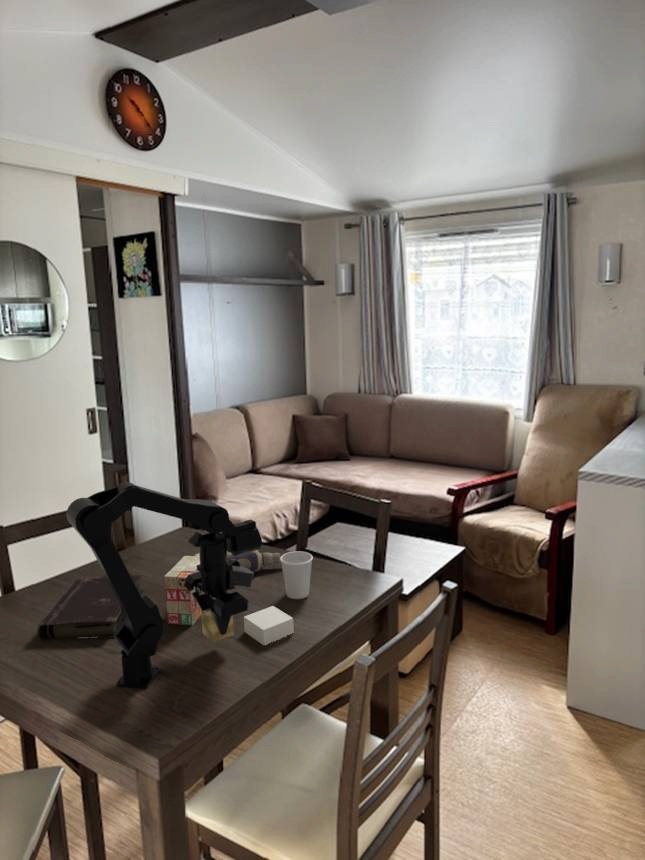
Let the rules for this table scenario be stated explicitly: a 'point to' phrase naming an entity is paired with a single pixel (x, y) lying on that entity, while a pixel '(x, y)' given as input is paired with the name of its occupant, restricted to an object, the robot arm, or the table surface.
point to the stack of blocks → (181, 593)
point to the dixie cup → (297, 573)
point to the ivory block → (268, 625)
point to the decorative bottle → (255, 559)
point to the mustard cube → (214, 627)
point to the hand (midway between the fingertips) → (217, 629)
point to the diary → (86, 610)
